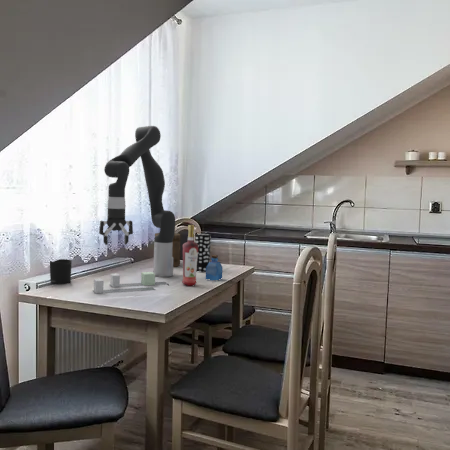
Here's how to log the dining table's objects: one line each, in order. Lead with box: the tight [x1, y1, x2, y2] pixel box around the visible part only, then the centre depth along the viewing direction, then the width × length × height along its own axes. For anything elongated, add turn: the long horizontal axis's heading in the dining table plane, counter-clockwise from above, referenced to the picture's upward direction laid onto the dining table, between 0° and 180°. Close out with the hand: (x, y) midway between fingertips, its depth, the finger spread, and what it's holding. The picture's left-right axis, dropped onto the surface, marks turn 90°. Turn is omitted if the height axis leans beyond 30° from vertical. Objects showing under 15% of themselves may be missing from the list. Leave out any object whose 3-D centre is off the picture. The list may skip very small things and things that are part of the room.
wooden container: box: [154, 232, 181, 268], centre depth 276 cm, size 15×15×22 cm
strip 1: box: [92, 278, 157, 295], centre depth 205 cm, size 26×6×6 cm, turn 115°
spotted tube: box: [194, 233, 212, 273], centre depth 263 cm, size 8×8×20 cm
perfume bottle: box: [205, 254, 224, 281], centre depth 241 cm, size 6×6×12 cm
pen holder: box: [49, 258, 73, 285], centre depth 219 cm, size 9×9×10 cm
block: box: [140, 271, 156, 286], centre depth 219 cm, size 5×5×5 cm
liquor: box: [181, 224, 198, 287], centre depth 224 cm, size 7×7×28 cm
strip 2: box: [109, 272, 170, 288], centre depth 218 cm, size 26×6×6 cm, turn 115°
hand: (116, 244), depth 212 cm, fingers open, 8 cm apart
